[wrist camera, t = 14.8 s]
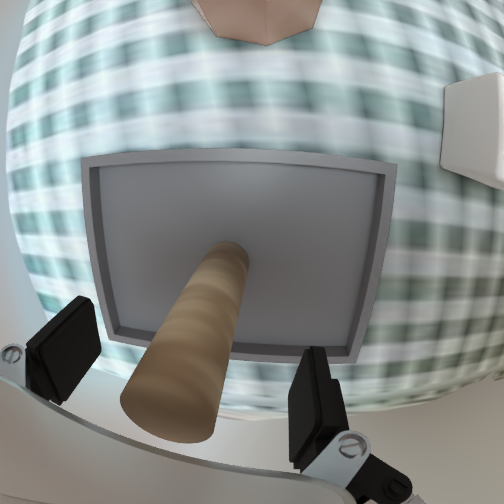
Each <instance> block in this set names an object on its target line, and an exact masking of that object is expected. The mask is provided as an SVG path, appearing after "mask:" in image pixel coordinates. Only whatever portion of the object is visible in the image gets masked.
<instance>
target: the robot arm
mask: <svg viewBox="0 0 504 504" xmlns="http://www.w3.org/2000/svg"><path fill="white" fill-rule="evenodd" d="M26 346H27V348H26V349H24V347H22V346H21V345H19V344H9V345H7V346H5V347H4V348H3V349H2V350H1V352H0V504H426V503H425V502H424V501H423V500H422V499H421V498H420V497H419V496H418V495H416V496H414V495H413V494H412V483H411V481H410V479H409V478H408V477H407V476H406V475H404V474H402V473H400V472H399V471H398V470H396V469H394V468H392V467H391V466H389V465H388V464H386V463H385V462H383V461H382V460H380V459H378V458H377V457H375V456H374V455H372V454H371V453H370V452H371V444H370V441H369V440H368V438H367V437H366V436H365V435H363V434H362V433H360V432H357V431H353V430H349V425H348V420H347V415H346V411H345V406H344V401H343V397H342V392H341V388H340V383H339V381H338V380H337V379H331V374H330V370H329V365H328V360H327V356H326V351H325V348H324V347H317V346H310V348H309V349H305V350H304V353H303V355H302V358H301V361H300V364H299V366H298V369H297V372H296V374H295V377H294V380H293V382H292V385H291V387H290V390H289V394H288V416H289V461H290V462H293V463H294V469H300V474H296V473H289V472H281V471H272V470H264V469H256V468H248V467H241V466H235V465H229V464H223V463H217V462H212V461H207V460H202V459H198V458H193V457H189V456H185V455H181V454H177V453H173V452H169V451H166V450H163V449H159V448H156V447H152V446H150V445H146V444H143V443H141V442H137V441H135V440H132V439H129V438H127V437H124V436H121V435H118V434H116V433H114V432H111V431H109V430H106V429H104V428H102V427H99V426H97V425H94V424H92V423H90V422H88V421H86V420H84V419H82V418H80V417H78V416H75V415H73V414H72V413H69V412H68V411H66V410H64V409H62V408H60V407H58V406H56V405H54V404H53V403H51V402H49V400H50V399H51V401H52V402H54V403H56V404H57V405H59V406H60V405H61V404H62V402H63V401H66V400H67V399H68V398H69V396H70V395H71V394H72V392H73V391H74V389H75V388H76V386H77V385H78V384H79V382H80V381H81V379H82V378H83V377H84V375H85V374H86V372H87V371H88V370H89V368H90V367H91V366H92V364H93V363H94V362H95V360H96V359H97V358H98V356H99V355H100V353H101V343H100V338H99V333H98V328H97V322H96V316H95V309H94V304H93V303H92V302H91V300H90V299H89V298H86V297H83V296H77V297H76V298H75V299H74V300H73V301H71V302H70V303H69V304H68V305H67V306H66V307H65V308H63V309H62V310H61V311H60V312H59V313H58V314H57V315H56V316H55V317H53V318H52V319H51V320H50V321H49V322H48V323H47V324H46V325H45V326H44V327H43V328H42V329H41V330H40V331H39V332H37V333H36V334H35V335H34V336H33V337H32V338H31V339H30V340H29V341H28V342H27V343H26Z"/></svg>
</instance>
